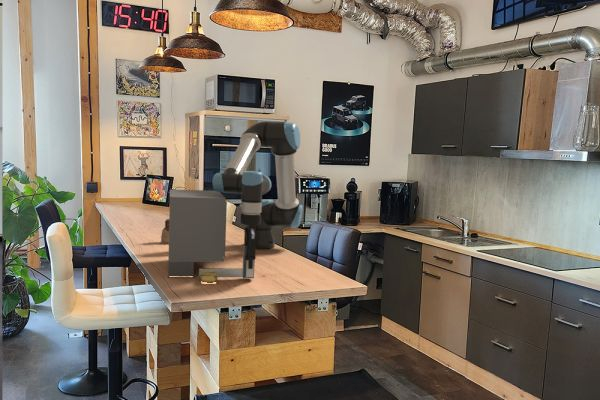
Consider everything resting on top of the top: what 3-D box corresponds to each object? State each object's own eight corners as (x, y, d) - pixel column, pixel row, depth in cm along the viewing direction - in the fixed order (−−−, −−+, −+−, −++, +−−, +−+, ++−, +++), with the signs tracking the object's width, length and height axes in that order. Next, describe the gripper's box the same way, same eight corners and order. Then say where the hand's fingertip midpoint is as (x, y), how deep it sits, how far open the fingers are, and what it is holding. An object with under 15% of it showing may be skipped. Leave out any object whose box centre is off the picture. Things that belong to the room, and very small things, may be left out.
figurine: (177, 241, 246) (177, 218, 245) (174, 244, 239) (174, 220, 238) (163, 241, 246) (163, 217, 245) (159, 244, 239) (159, 219, 237)
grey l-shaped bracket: (252, 275, 186) (254, 244, 185) (253, 278, 182) (255, 246, 181) (199, 275, 182) (200, 243, 181) (198, 278, 178) (199, 245, 177)
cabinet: (219, 259, 213) (222, 190, 210) (227, 276, 187) (229, 198, 183) (168, 260, 208) (169, 189, 205) (168, 277, 181) (170, 197, 178)
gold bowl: (217, 280, 181) (217, 272, 181) (216, 285, 175) (217, 277, 175) (201, 280, 180) (201, 272, 180) (199, 285, 174) (199, 276, 174)
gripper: (237, 209, 189) (235, 269, 191) (244, 216, 172) (241, 281, 175) (257, 210, 190) (254, 269, 193) (265, 217, 174) (262, 281, 176)
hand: (248, 274), depth 184 cm, fingers closed on grey l-shaped bracket, 4 cm apart
